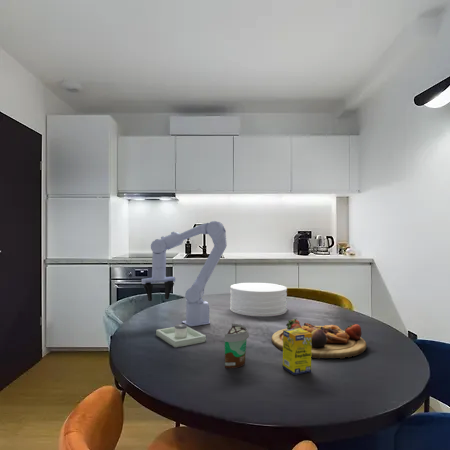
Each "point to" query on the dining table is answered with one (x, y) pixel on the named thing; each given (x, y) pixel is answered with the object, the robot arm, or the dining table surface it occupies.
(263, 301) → the plate stack
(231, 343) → the food container
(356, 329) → the wooden plate with food
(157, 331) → the tray
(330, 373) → the dining table surface
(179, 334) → the shaker
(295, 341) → the supplement box
